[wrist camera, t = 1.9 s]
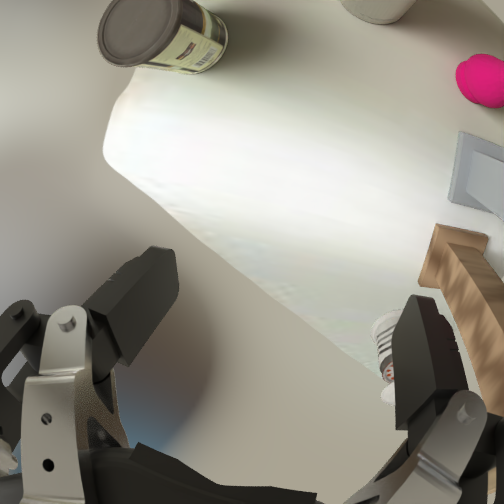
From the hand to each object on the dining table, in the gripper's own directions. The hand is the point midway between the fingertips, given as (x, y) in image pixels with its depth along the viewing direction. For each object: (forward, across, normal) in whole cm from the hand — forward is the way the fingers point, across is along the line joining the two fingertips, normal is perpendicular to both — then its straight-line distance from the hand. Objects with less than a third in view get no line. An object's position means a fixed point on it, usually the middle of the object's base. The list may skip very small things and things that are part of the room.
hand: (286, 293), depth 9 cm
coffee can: (+30, +18, -14) cm, 38 cm away
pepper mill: (+31, -21, -15) cm, 40 cm away
